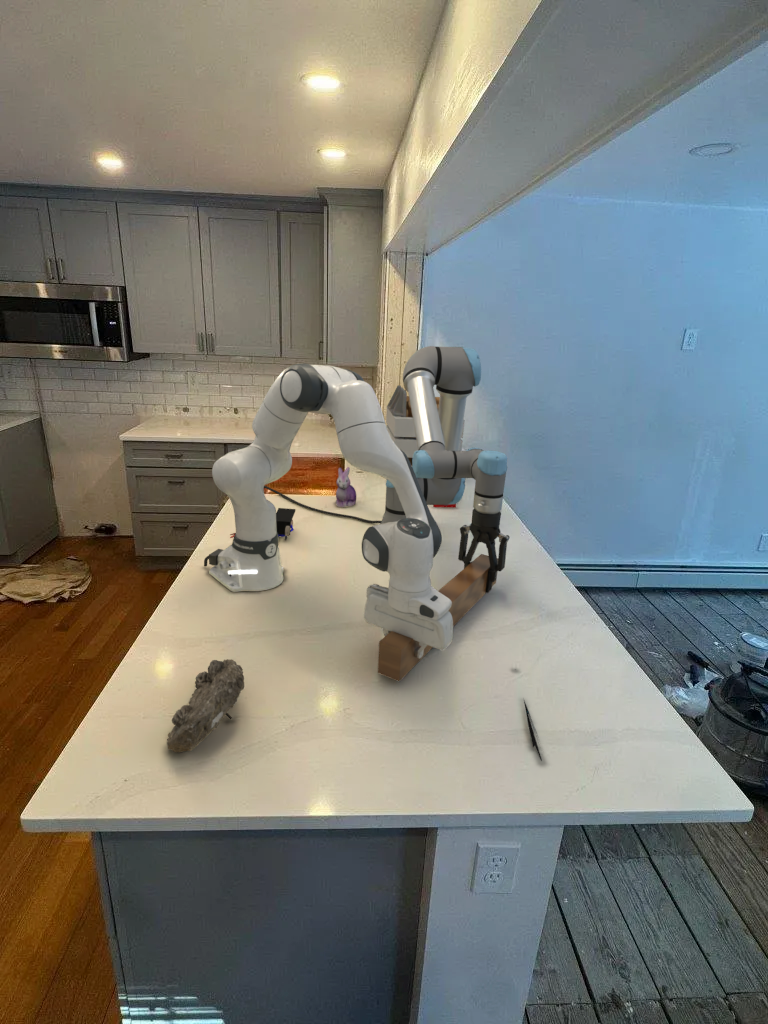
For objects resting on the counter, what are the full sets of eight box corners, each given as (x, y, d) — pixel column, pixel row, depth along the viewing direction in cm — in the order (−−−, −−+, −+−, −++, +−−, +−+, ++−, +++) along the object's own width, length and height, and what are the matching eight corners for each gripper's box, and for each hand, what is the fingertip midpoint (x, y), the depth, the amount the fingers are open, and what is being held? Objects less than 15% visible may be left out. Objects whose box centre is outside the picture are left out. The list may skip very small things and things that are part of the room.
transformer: (382, 463, 289) (386, 382, 275) (445, 464, 293) (451, 384, 279) (390, 482, 257) (394, 392, 243) (460, 483, 261) (468, 394, 247)
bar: (478, 578, 165) (481, 553, 163) (495, 583, 163) (498, 558, 160) (377, 672, 121) (379, 641, 118) (399, 681, 118) (401, 649, 115)
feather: (515, 674, 127) (521, 668, 126) (541, 765, 100) (548, 758, 100) (509, 670, 127) (514, 664, 126) (533, 761, 100) (540, 753, 99)
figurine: (339, 509, 221) (340, 472, 216) (329, 501, 229) (330, 465, 224) (361, 506, 225) (362, 470, 220) (351, 498, 234) (352, 463, 228)
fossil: (192, 660, 117) (244, 628, 112) (224, 691, 120) (276, 661, 115) (142, 746, 98) (202, 712, 93) (182, 779, 101) (242, 748, 96)
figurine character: (291, 546, 188) (296, 525, 202) (290, 526, 185) (296, 506, 198) (270, 546, 188) (277, 525, 201) (269, 526, 185) (276, 506, 198)
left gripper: (359, 587, 121) (357, 642, 126) (445, 615, 112) (440, 674, 116) (375, 576, 127) (372, 630, 131) (458, 603, 117) (453, 660, 122)
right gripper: (449, 506, 152) (442, 583, 160) (515, 521, 143) (504, 602, 151) (461, 499, 158) (453, 574, 166) (525, 513, 149) (514, 591, 157)
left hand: (405, 651), depth 124 cm, fingers closed on bar, 5 cm apart
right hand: (478, 587), depth 158 cm, fingers closed on bar, 5 cm apart
